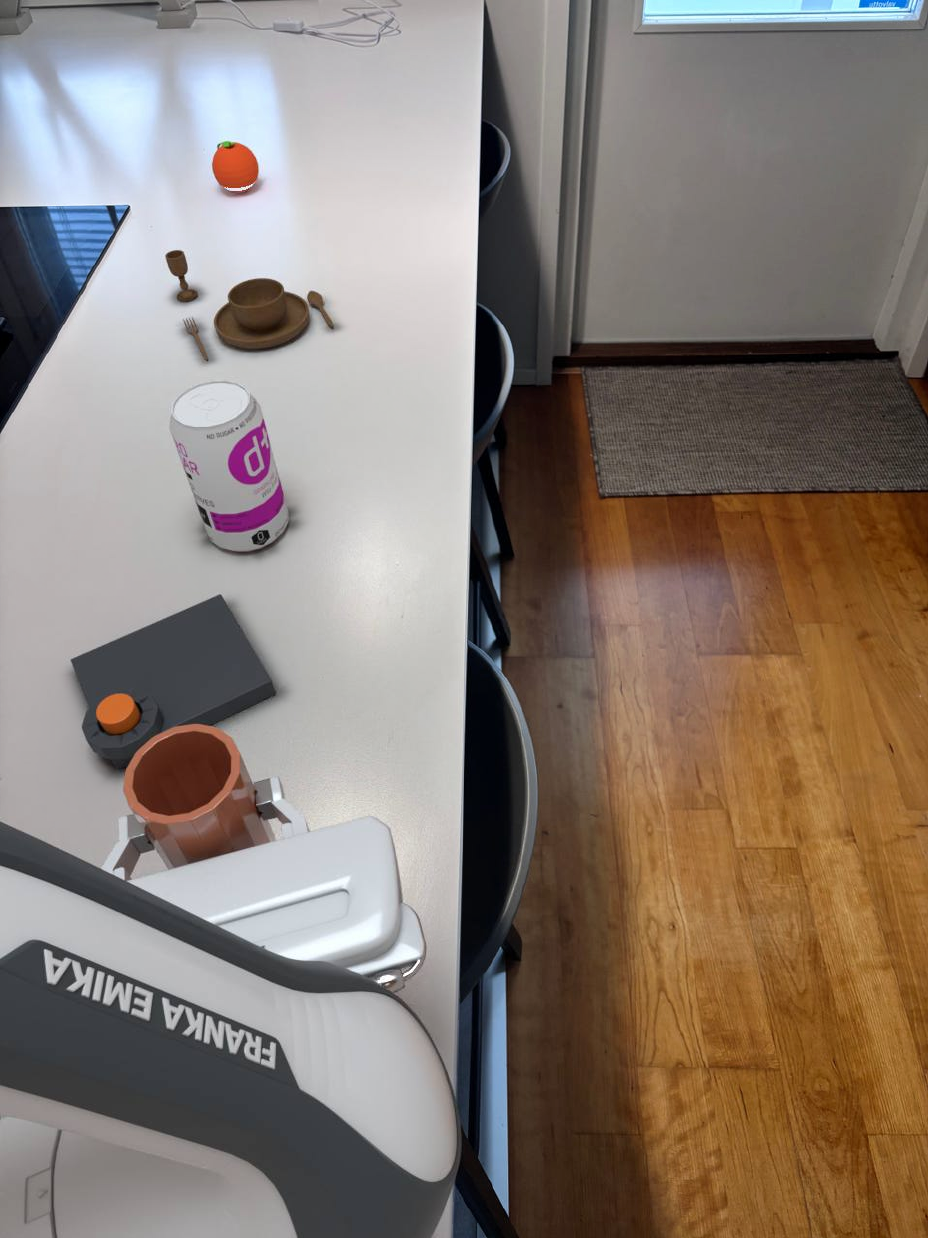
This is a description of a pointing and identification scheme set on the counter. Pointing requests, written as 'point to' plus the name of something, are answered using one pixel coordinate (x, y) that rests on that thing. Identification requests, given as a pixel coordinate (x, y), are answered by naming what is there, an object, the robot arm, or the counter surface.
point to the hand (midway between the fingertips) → (201, 801)
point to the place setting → (251, 310)
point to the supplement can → (229, 464)
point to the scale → (172, 676)
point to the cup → (194, 796)
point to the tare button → (118, 714)
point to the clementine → (234, 165)
